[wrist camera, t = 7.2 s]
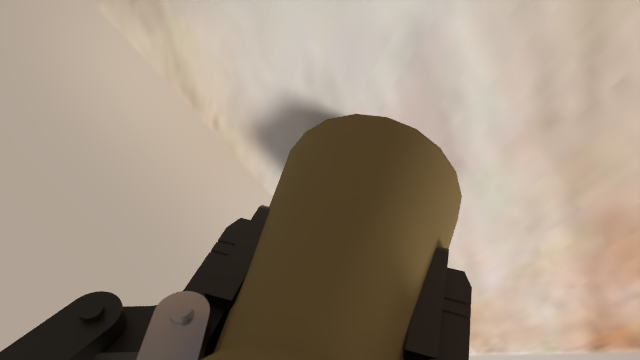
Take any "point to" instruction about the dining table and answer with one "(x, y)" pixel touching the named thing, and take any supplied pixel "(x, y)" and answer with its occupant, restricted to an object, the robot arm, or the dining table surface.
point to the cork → (344, 245)
